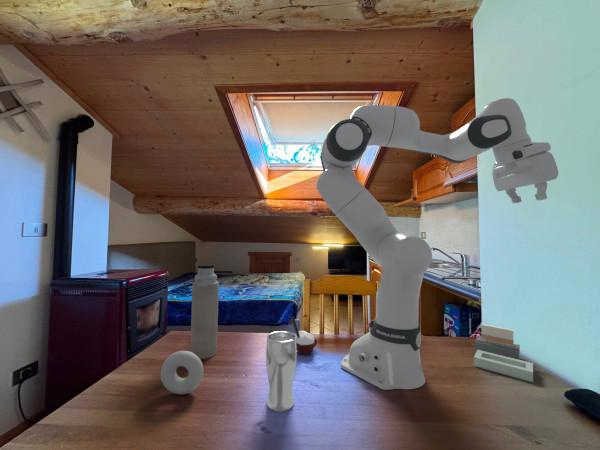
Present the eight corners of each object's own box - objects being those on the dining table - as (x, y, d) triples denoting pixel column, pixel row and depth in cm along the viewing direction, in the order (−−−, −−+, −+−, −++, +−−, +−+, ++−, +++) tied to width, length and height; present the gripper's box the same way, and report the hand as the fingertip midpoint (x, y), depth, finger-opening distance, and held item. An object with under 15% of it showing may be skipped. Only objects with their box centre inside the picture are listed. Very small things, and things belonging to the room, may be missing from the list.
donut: (156, 397, 63) (158, 353, 63) (164, 389, 66) (165, 347, 67) (200, 398, 63) (201, 354, 63) (205, 389, 66) (206, 348, 67)
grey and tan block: (475, 357, 86) (475, 340, 86) (478, 351, 91) (478, 334, 91) (519, 369, 79) (518, 350, 79) (519, 361, 84) (519, 343, 84)
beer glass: (291, 415, 57) (293, 343, 58) (260, 410, 59) (261, 340, 59) (298, 396, 64) (299, 332, 65) (270, 392, 66) (271, 329, 66)
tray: (474, 369, 79) (473, 357, 79) (477, 361, 84) (477, 349, 84) (533, 386, 70) (533, 372, 70) (533, 375, 75) (532, 363, 75)
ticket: (481, 353, 87) (481, 324, 87) (482, 351, 88) (482, 323, 89) (513, 361, 82) (513, 331, 82) (513, 359, 83) (513, 329, 83)
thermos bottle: (205, 346, 92) (208, 262, 93) (222, 351, 88) (224, 264, 88) (184, 354, 85) (187, 264, 86) (201, 361, 81) (203, 266, 82)
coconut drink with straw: (315, 349, 92) (317, 312, 93) (319, 356, 85) (321, 317, 86) (287, 349, 90) (289, 312, 91) (289, 356, 84) (291, 317, 85)
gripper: (482, 166, 89) (495, 207, 88) (529, 148, 69) (545, 201, 68) (502, 160, 88) (515, 201, 88) (555, 141, 68) (572, 193, 68)
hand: (528, 201), depth 78 cm, fingers open, 8 cm apart
